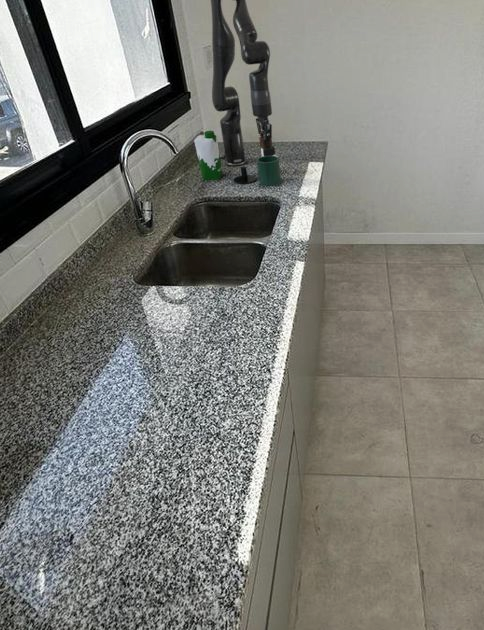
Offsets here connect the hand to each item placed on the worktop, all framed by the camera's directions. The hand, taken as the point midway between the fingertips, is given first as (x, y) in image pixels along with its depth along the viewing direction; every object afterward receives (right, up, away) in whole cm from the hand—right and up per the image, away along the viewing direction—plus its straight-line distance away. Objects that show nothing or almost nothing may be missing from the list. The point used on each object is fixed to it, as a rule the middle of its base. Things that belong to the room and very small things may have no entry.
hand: (266, 147), depth 180 cm
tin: (+1, -12, +9) cm, 15 cm away
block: (0, 0, 0) cm, 0 cm away
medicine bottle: (-1, -5, +19) cm, 20 cm away
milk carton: (-26, -8, +17) cm, 32 cm away
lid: (-11, -10, +12) cm, 19 cm away
